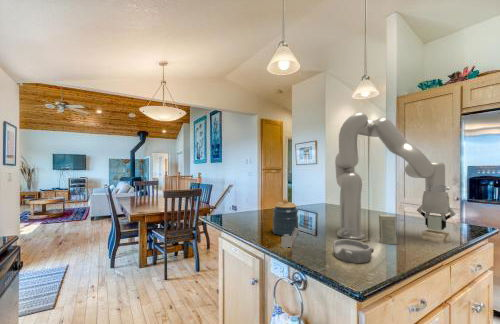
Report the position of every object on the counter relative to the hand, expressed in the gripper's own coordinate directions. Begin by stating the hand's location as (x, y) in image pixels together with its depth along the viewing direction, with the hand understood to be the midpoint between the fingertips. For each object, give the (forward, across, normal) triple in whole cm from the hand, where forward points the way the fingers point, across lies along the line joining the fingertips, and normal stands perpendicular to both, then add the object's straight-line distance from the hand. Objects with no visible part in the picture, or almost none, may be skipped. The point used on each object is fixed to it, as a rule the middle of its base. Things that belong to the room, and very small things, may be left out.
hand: (435, 227), depth 117 cm
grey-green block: (+1, 0, 0) cm, 1 cm away
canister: (+6, +55, +42) cm, 69 cm away
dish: (+6, +17, +50) cm, 53 cm away
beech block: (+6, 0, 0) cm, 6 cm away
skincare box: (+6, +14, +21) cm, 26 cm away
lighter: (+6, +40, +58) cm, 71 cm away
